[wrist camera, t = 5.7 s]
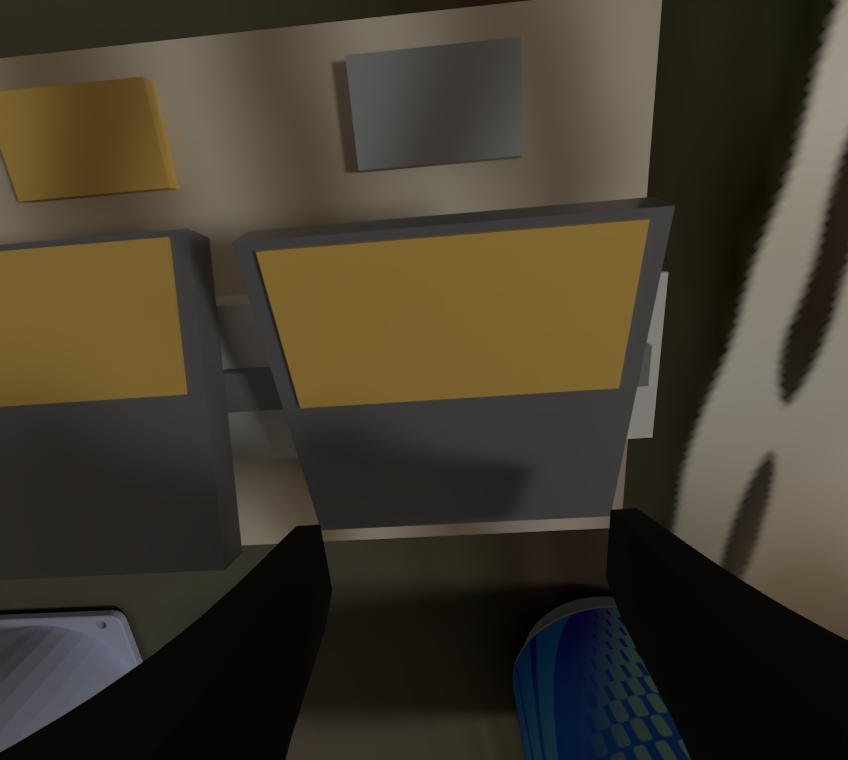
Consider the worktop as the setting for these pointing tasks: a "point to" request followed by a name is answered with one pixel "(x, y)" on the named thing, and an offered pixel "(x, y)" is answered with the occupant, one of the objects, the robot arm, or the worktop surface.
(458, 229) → the switch
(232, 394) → the switch housing
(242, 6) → the worktop surface
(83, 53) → the base
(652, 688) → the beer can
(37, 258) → the switch
